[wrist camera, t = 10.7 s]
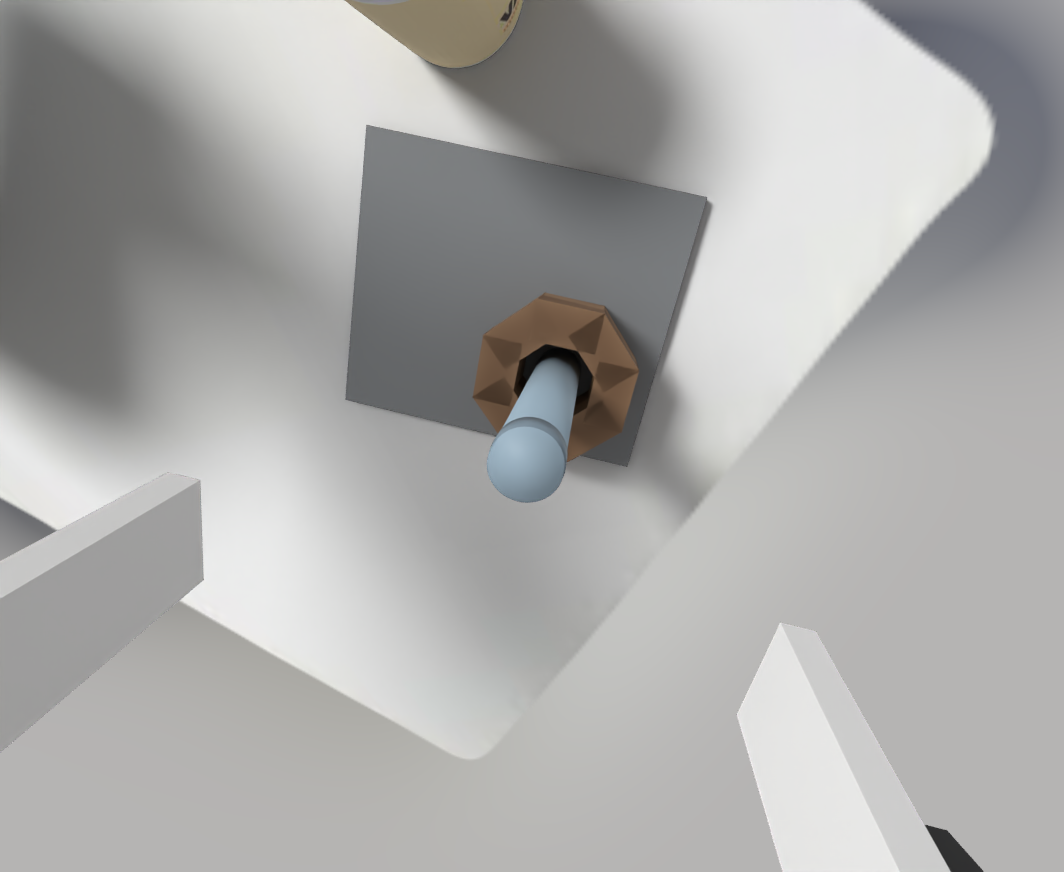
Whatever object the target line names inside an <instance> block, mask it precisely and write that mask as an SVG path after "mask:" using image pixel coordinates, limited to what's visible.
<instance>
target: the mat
mask: <svg viewBox="0 0 1064 872" xmlns="http://www.w3.org/2000/svg"><path fill="white" fill-rule="evenodd" d="M706 200H707V197H704V196H699V195H694V194H690V193H685V192H680V191H676V190H671V189H666V188H661V187H657V186H652V185H647V184H643V183H638V182H633V181H628V180H624V179H619V178H614V177H610V176H605V175H600V174H596V173H591V172H586V171H581V170H577V169H572V168H567V167H563V166H558V165H553V164H548V163H544V162H539V161H534V160H530V159H525V158H520V157H516V156H511V155H506V154H501V153H497V152H492V151H487V150H483V149H478V148H473V147H468V146H464V145H459V144H454V143H450V142H445V141H440V140H435V139H431V138H426V137H421V136H417V135H412V134H407V133H403V132H398V131H393V130H388V129H384V128H379V127H374V126H370V125H366V138H365V151H364V164H363V177H362V190H361V203H360V216H359V230H358V243H357V256H356V269H355V282H354V295H353V308H352V321H351V334H350V347H349V361H348V374H347V387H346V400H349V401H353V402H357V403H361V404H366V405H370V406H374V407H378V408H383V409H387V410H391V411H395V412H399V413H404V414H408V415H412V416H416V417H420V418H425V419H429V420H433V421H437V422H441V423H446V424H450V425H454V426H458V427H462V428H467V429H471V430H475V431H479V432H483V433H488V434H492V435H496V436H497V434H498V433H497V432H496V430H495V429H494V427H493V426H492V424H491V423H490V422H489V420H488V419H487V417H486V416H485V414H484V413H483V412H482V410H481V409H480V407H479V406H478V404H477V403H476V401H475V400H474V399H473V397H472V396H473V392H474V386H475V380H476V374H477V368H478V362H479V356H480V350H481V345H482V339H483V335H484V334H485V333H486V332H487V331H489V330H490V329H491V328H493V327H494V326H495V325H498V324H499V323H501V322H502V321H503V320H505V319H506V318H508V317H509V316H511V315H512V314H514V313H515V312H517V311H518V310H520V309H521V308H523V307H524V306H526V305H527V304H529V303H530V302H532V301H533V300H535V299H536V298H538V297H539V296H541V295H542V294H543V293H545V292H546V293H549V294H554V295H558V296H563V297H567V298H572V299H576V300H581V301H585V302H590V303H594V304H598V305H603V306H605V308H606V309H607V311H608V313H609V315H610V316H611V318H612V320H613V321H614V323H615V325H616V326H617V328H618V330H619V331H620V333H621V335H622V336H623V338H624V340H625V341H626V343H627V345H628V346H629V348H630V350H631V351H632V353H633V355H634V356H635V358H636V361H637V365H638V368H639V373H638V377H637V380H636V384H635V387H634V391H633V394H632V398H631V401H630V405H629V408H628V412H627V415H626V419H625V422H624V426H623V429H622V433H619V434H618V435H616V436H614V437H612V438H610V439H608V440H607V441H605V442H603V443H601V444H599V445H598V446H596V447H594V448H592V449H590V450H589V451H587V452H585V453H583V454H581V455H580V456H584V457H589V458H593V459H597V460H601V461H605V462H610V463H614V464H618V465H622V466H628V462H629V459H630V456H631V452H632V449H633V446H634V442H635V439H636V435H637V432H638V429H639V425H640V422H641V419H642V415H643V412H644V409H645V405H646V402H647V398H648V395H649V392H650V388H651V385H652V382H653V378H654V375H655V372H656V368H657V365H658V361H659V358H660V355H661V351H662V348H663V345H664V341H665V338H666V334H667V331H668V328H669V324H670V321H671V318H672V314H673V311H674V308H675V304H676V301H677V297H678V294H679V291H680V287H681V284H682V281H683V277H684V274H685V271H686V267H687V264H688V260H689V257H690V254H691V250H692V247H693V244H694V240H695V237H696V234H697V230H698V227H699V223H700V220H701V217H702V213H703V210H704V207H705V203H706ZM554 348H563V347H558V346H554V345H549V344H545V345H543V346H542V347H540V348H538V349H537V350H535V351H534V352H532V353H531V354H529V355H527V357H526V362H525V367H524V372H523V376H524V377H525V379H526V380H527V382H528V380H529V378H530V376H531V374H532V373H533V371H534V369H535V367H536V365H537V363H538V361H539V360H540V358H541V357H542V355H543V354H544V353H545V352H547V351H549V350H551V349H554ZM563 349H566V350H569V351H570V352H572V353H573V354H574V355H575V356H576V357H577V359H578V361H579V363H580V377H579V383H578V389H577V395H576V397H578V396H580V395H581V394H583V393H585V392H586V391H588V390H589V387H590V383H591V379H592V373H591V371H590V370H589V368H588V367H587V365H586V363H585V362H584V360H583V359H582V357H581V355H580V354H579V352H578V351H576V350H571V349H567V348H563Z"/></svg>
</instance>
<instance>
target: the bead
mask: <svg viewBox="0 0 1064 872" xmlns="http://www.w3.org/2000/svg"><path fill="white" fill-rule="evenodd" d="M545 344H549V345H554V346H558V347H563V348H567V349H571V350H576V351H578V352H579V354H580V355H581V357H582V359H583V360H584V362H585V363H586V365H587V367H588V368H589V370H590V371H591V373H592V379H591V383H590V387H589V390H588V391H586V392H585V393H583V394H581V395H580V396H578V397H576V401H575V407H574V413H573V419H572V425H571V431H570V437H569V443H568V449H567V451H568V456H567V462H569V461H570V460H572V459H574V458H576V457H578V456H579V455H581V454H583V453H585V452H587V451H589V450H590V449H592V448H594V447H596V446H598V445H599V444H601V443H603V442H605V441H607V440H608V439H610V438H612V437H614V436H616V435H618V434H619V433H622V429H623V426H624V422H625V419H626V415H627V412H628V408H629V405H630V401H631V398H632V394H633V391H634V387H635V384H636V380H637V377H638V373H639V368H638V365H637V361H636V358H635V356H634V355H633V353H632V351H631V350H630V348H629V346H628V345H627V343H626V341H625V340H624V338H623V336H622V335H621V333H620V331H619V330H618V328H617V326H616V325H615V323H614V321H613V320H612V318H611V316H610V315H609V313H608V311H607V309H606V308H605V306H603V305H598V304H594V303H590V302H585V301H581V300H576V299H572V298H567V297H563V296H558V295H554V294H549V293H546V292H545V293H543V294H542V295H541V296H539V297H538V298H536V299H535V300H533V301H532V302H530V303H529V304H527V305H526V306H524V307H523V308H521V309H520V310H518V311H517V312H515V313H514V314H512V315H511V316H509V317H508V318H506V319H505V320H503V321H502V322H501V323H499V324H498V325H495V326H494V327H493V328H491V329H490V330H489V331H487V332H486V333H485V334H484V335H483V339H482V345H481V350H480V356H479V362H478V368H477V374H476V380H475V386H474V392H473V396H472V397H473V399H474V400H475V401H476V403H477V404H478V406H479V407H480V409H481V410H482V412H483V413H484V414H485V416H486V417H487V419H488V420H489V422H490V423H491V424H492V426H493V427H494V429H495V430H496V432H497V433H499V431H500V430H501V429H502V428H503V426H504V424H505V422H506V420H507V419H508V417H509V415H510V413H511V411H512V409H513V408H514V406H515V404H516V402H517V400H518V398H519V396H520V395H521V393H522V391H523V389H524V387H525V385H526V384H527V380H526V379H525V377H524V376H523V372H524V367H525V362H526V357H527V355H529V354H531V353H532V352H534V351H535V350H537V349H538V348H540V347H542V346H543V345H545Z"/></svg>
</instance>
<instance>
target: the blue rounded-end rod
mask: <svg viewBox="0 0 1064 872" xmlns="http://www.w3.org/2000/svg"><path fill="white" fill-rule="evenodd" d="M579 377H580V363H579V361H578V359H577V357H576V356H575V355H574V354H573V353H572V352H570V351H569V350H566V349H563V348H554V349H551V350H549V351H547V352H545V353H544V354H543V355H542V357H541V358H540V360H539V361H538V363H537V365H536V367H535V369H534V371H533V373H532V374H531V376H530V378H529V380H528V382H527V384H526V385H525V387H524V389H523V391H522V393H521V395H520V396H519V398H518V400H517V402H516V404H515V406H514V408H513V409H512V411H511V413H510V415H509V417H508V419H507V420H506V422H505V424H504V426H503V428H502V429H501V430H500V431H499V433H498V434H497V436H496V438H495V440H494V442H493V443H492V445H491V448H490V451H489V455H488V459H487V471H488V475H489V478H490V480H491V482H492V483H493V485H494V486H495V488H496V489H497V490H498V491H499V492H500V493H502V494H503V495H504V496H506V497H508V498H510V499H512V500H515V501H519V502H527V503H528V502H536V501H540V500H543V499H545V498H547V497H548V496H550V495H551V494H552V493H554V491H555V490H556V489H557V488H558V486H559V485H560V483H561V481H562V478H563V476H564V473H565V469H566V463H567V456H568V451H567V449H568V443H569V437H570V431H571V425H572V419H573V413H574V407H575V401H576V395H577V389H578V383H579Z"/></svg>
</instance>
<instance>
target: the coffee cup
mask: <svg viewBox="0 0 1064 872" xmlns="http://www.w3.org/2000/svg"><path fill="white" fill-rule="evenodd" d="M345 1H346V2H348V3H349V4H350V5H351V6H353V7H354V8H355V9H356V10H358V11H359V12H360V13H362V14H363V15H364V16H366V17H367V18H368V19H370V20H371V21H372V22H374V23H375V24H376V25H378V26H379V27H380V28H381V29H383V30H384V31H385V32H387V33H388V34H390V35H391V36H392V37H394V38H395V39H396V40H398V41H399V42H400V43H402V44H403V45H404V46H406V47H407V48H408V49H410V50H411V51H412V52H414V53H415V54H417V55H418V56H420V57H422V58H423V59H425V60H427V61H428V62H430V63H433V64H435V65H438V66H442V67H447V68H463V67H469V66H473V65H475V64H478V63H480V62H482V61H484V60H486V59H487V58H489V57H490V56H492V55H493V54H494V53H495V52H496V51H498V50H499V49H500V47H501V46H502V45H503V44H504V43H505V42H506V40H507V39H508V38H509V36H510V34H511V33H512V31H513V30H514V27H515V25H516V23H517V20H518V18H519V15H520V12H521V8H522V4H523V0H345Z"/></svg>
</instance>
